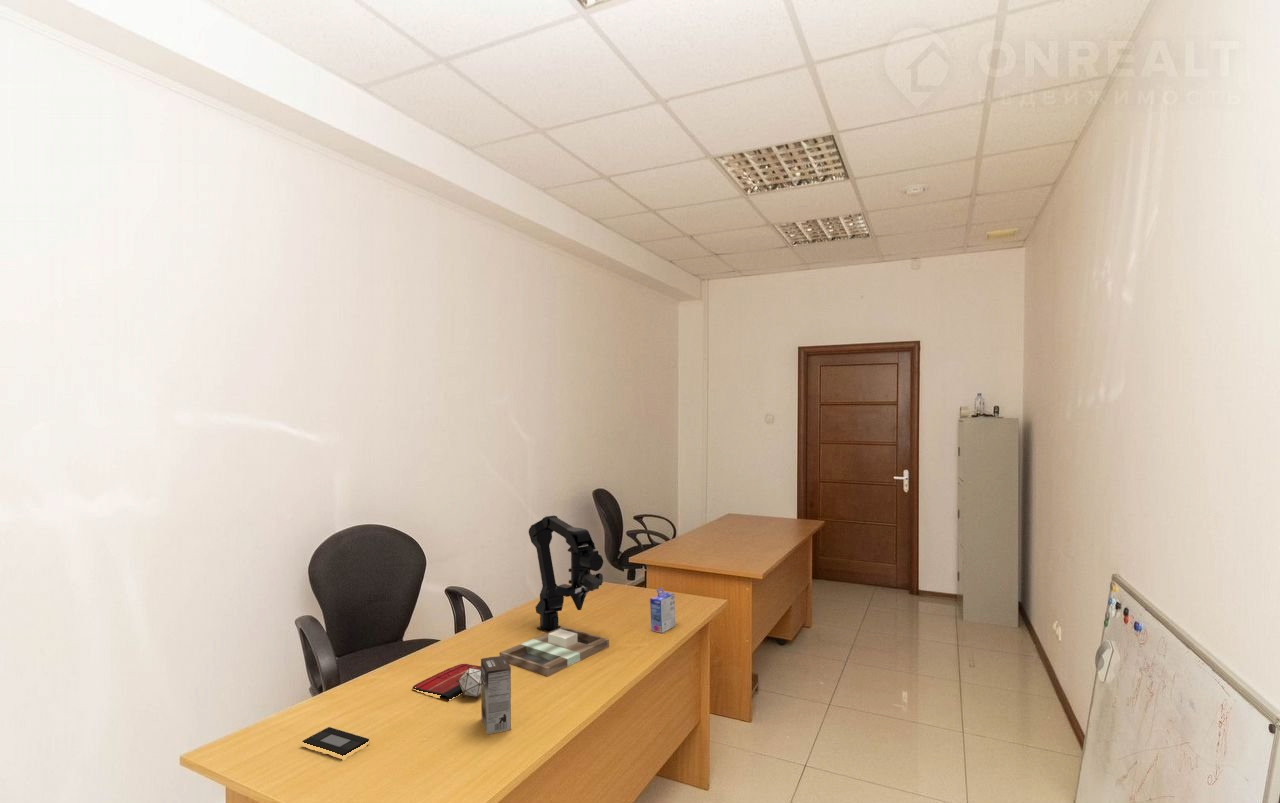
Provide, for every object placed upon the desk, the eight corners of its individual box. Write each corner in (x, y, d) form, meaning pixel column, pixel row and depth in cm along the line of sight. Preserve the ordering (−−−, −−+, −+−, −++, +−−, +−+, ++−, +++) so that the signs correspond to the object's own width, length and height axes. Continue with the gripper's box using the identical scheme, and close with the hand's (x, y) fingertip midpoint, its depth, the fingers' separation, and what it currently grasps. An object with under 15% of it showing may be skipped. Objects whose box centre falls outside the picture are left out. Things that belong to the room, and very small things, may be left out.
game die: (479, 707, 181) (501, 677, 182) (463, 709, 173) (485, 678, 175) (460, 686, 185) (481, 657, 186) (444, 686, 177) (466, 657, 179)
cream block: (548, 642, 214) (548, 633, 214) (560, 637, 219) (560, 628, 219) (565, 647, 209) (565, 638, 209) (577, 642, 214) (577, 633, 214)
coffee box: (480, 719, 166) (480, 658, 166) (504, 714, 169) (504, 654, 169) (486, 735, 158) (486, 671, 158) (511, 730, 160) (511, 666, 161)
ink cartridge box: (664, 623, 240) (663, 585, 241) (676, 626, 237) (676, 587, 237) (649, 630, 232) (649, 591, 232) (662, 633, 229) (661, 594, 229)
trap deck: (499, 660, 206) (499, 652, 206) (562, 633, 230) (562, 626, 230) (547, 676, 193) (547, 668, 193) (609, 646, 217) (609, 639, 217)
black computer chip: (342, 762, 147) (342, 754, 147) (302, 749, 153) (302, 741, 153) (369, 747, 154) (368, 738, 154) (328, 734, 160) (328, 726, 160)
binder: (499, 668, 194) (448, 695, 176) (499, 676, 194) (448, 704, 176) (461, 660, 202) (409, 686, 184) (462, 668, 202) (409, 694, 184)
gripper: (578, 574, 209) (578, 621, 209) (613, 563, 224) (613, 607, 224) (554, 569, 216) (554, 615, 215) (589, 559, 231) (590, 601, 230)
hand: (579, 609), depth 221 cm, fingers closed
